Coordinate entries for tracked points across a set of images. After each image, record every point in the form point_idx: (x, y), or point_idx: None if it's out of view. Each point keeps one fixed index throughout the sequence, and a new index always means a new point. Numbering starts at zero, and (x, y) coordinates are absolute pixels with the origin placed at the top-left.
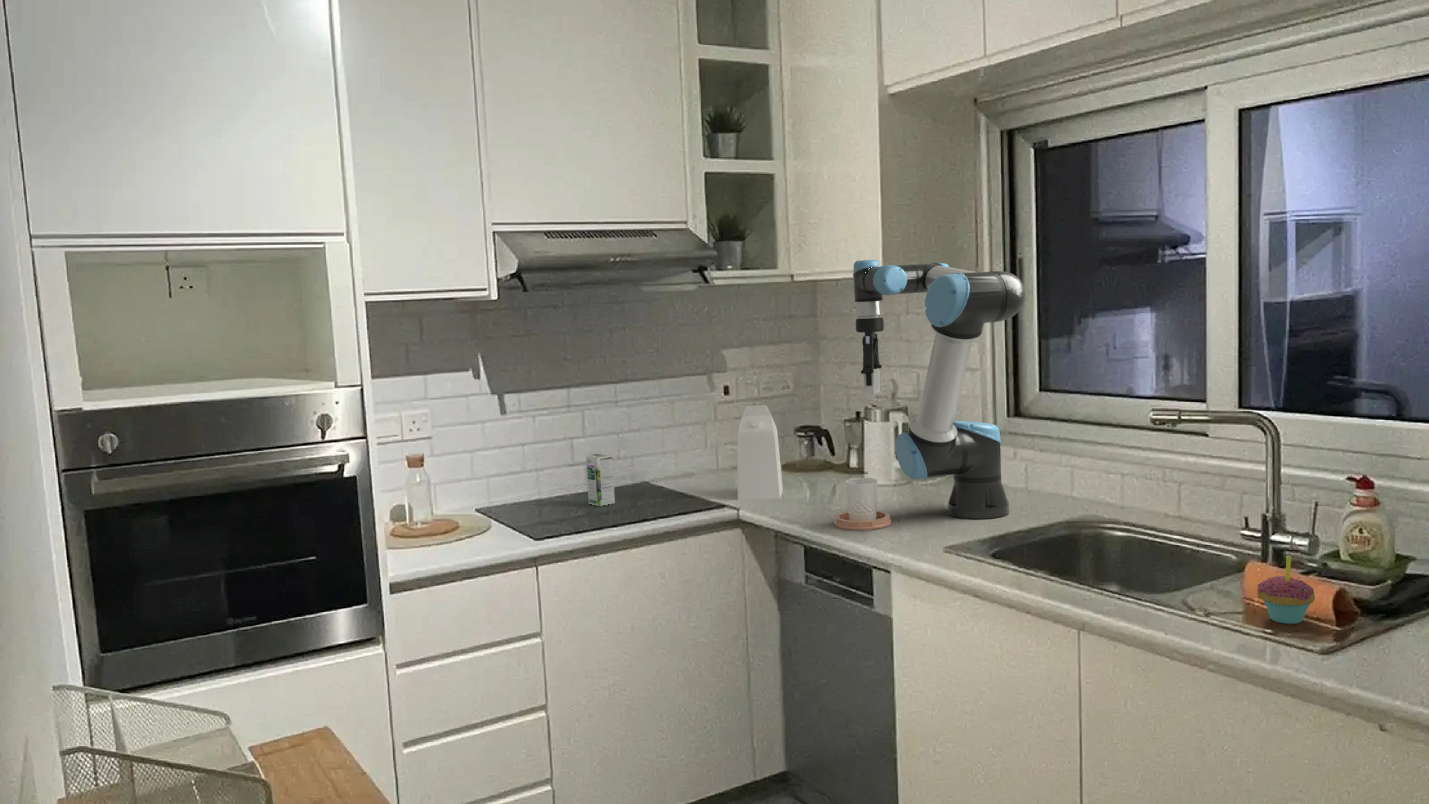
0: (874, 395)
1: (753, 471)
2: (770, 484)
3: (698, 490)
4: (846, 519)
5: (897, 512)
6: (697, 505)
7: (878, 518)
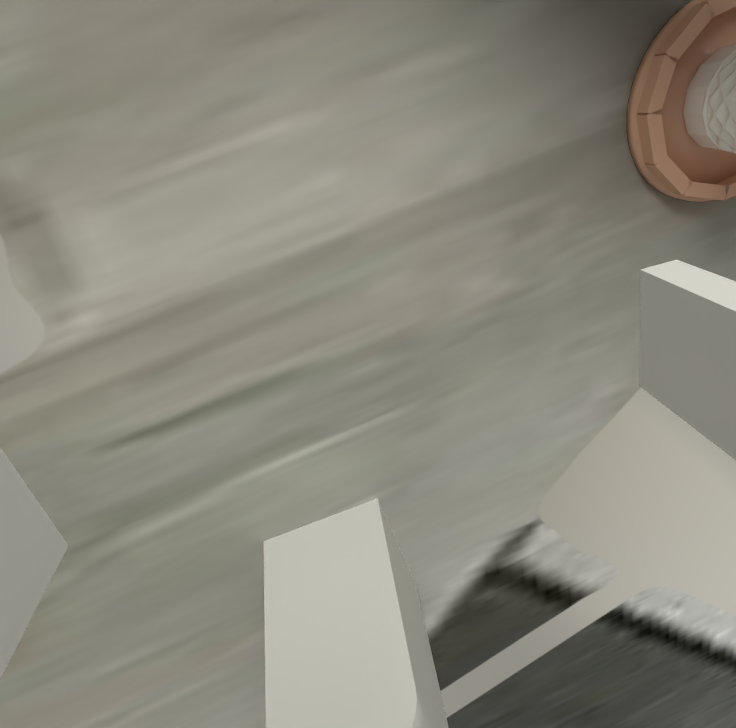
0: (699, 272)
1: (415, 619)
2: (392, 549)
3: None
4: (706, 165)
5: (537, 23)
6: (495, 622)
7: (699, 47)
